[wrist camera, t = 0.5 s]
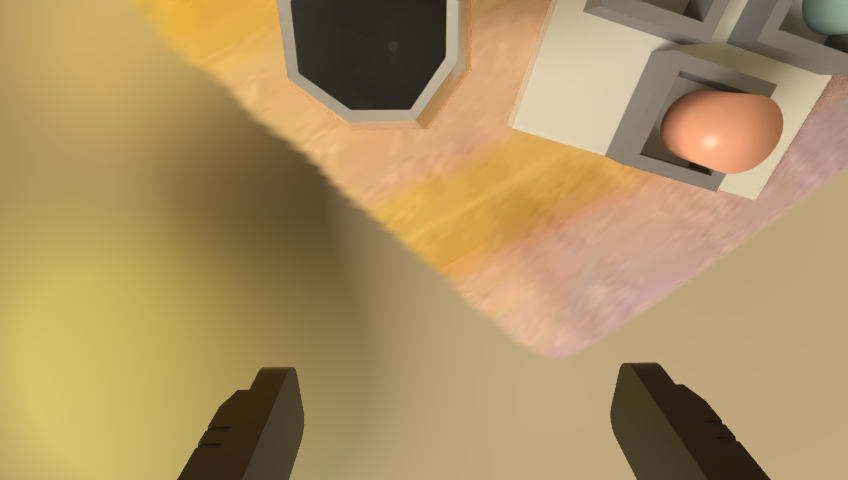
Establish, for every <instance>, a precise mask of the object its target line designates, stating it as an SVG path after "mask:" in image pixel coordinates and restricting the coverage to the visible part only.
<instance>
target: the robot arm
mask: <svg viewBox="0 0 848 480" xmlns="http://www.w3.org/2000/svg"><path fill="white" fill-rule="evenodd" d="M611 424H612V429H613V432H614V435H615V437H616V439H617V441H618V443H619V445H620V447H621V449H622V451H623V453H624V455H625V457H626V459H627V461H628V463H629V464H630V467H631V469H632V470H633V472H634V474H635V476H636V478H637V480H770V478H769V477H768V476H767V475H766V474H765V472H764V471H763V470H762V469H761V467H760V466H759V465H758V464H757V463H756V461H755V460H754V459H753V458H752V457H751V455H750V454H749V453H748V452H747V450H746V449H745V448H744V447H743V446H742V444H741V443H740V442H737V441H736V439H735V436H734V435H733V433H732V432H731V431H730V430H729V429H728V427H727V426H726V425H723V424H722V420H721V419H720V418H719V416H718V415H717V414H716V413H715V412H714V410H713V409H712V408H711V407H710V406H709V405H708V403H707V402H706V401H705V400H704V399H702V398H701V397H700V396H698V395H697V394H695V393H694V392H693V391H691V390H690V389H689V388H687V387H686V386H685V385H683V384H679V385H676V384H675V383H674V382H673V381H672V379H671V378H670V377H669V375H668V374H667V373H666V372H665V370H664V369H663V368H662V367H661V365H659V364H658V363H623V364H622V365H621V367H620V370H619V375H618V379H617V383H616V388H615V393H614V397H613V401H612V406H611ZM303 429H304V411H303V406H302V400H301V395H300V389H299V384H298V378H297V373H296V370H295V368H294V367H264V368H262V369H261V370H260V371H259V372H258V374H257V376H256V378H255V380H254V382H253V384H252V386H251V388H250V389H249V390H237V391H236V392H235V393H234V394H233V395H232V396H231V397H230V398H229V399H228V400H226V401H225V402H224V403H223V404H222V405H221V406H220V407H219V409H218V410H217V412H216V414H215V416H214V417H213V419H212V421H211V422H210V424H209V426H208V430H207V431H205V433H204V435H203V436H202V438H201V440H200V441H199V443H198V448H196V449H195V450H194V452H193V453H192V455H191V457H190V459H189V460H188V462H187V464H186V466H185V467H184V469H183V471H182V472H181V474H180V476H179V478H178V479H177V480H289V478H290V475H291V471H292V468H293V465H294V462H295V459H296V456H297V452H298V449H299V446H300V443H301V440H302V435H303Z"/></svg>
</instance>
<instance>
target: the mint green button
mask: <svg viewBox="0 0 848 480" xmlns="http://www.w3.org/2000/svg"><path fill="white" fill-rule="evenodd" d="M802 16H803V20H804V22H805V24H806V25H807V27H808V28H809V29H810V30H811V31H813V32H815V33H817V34H820V35H838V34H848V0H802Z"/></svg>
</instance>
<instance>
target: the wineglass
mask: <svg viewBox="0 0 848 480" xmlns="http://www.w3.org/2000/svg"><path fill="white" fill-rule="evenodd" d="M277 4H278V11H279V18H280V25H281V32H282V40H283V47H284V54H285V61H286V68H287V75H288V80H289V84H290V86H291V87H292V88H294V89H295V90H296V91H298V92H299V93H301V94H302V95H303V96H305V97H306V98H308V99H309V100H310V101H312V102H313V103H315V104H316V105H317V106H319V107H320V108H322V109H323V110H324V111H326V112H327V113H329V114H330V115H331V116H333V117H334V118H336V119H337V120H338V121H340V122H341V123H343V124H344V125H345V126H347V127H348V128H350V129H351V130H352V131H373V130H426V129H429V128H430V127H431V125H432V124H433V122H434V121H435V120H436V118H437V117H438V115H439V114H440V113H441V111H442V110H443V109H444V107H445V106H446V104H447V103H448V102H449V100H450V99H451V97H452V96H453V95H454V93H455V92H456V91H457V89H458V88H459V86H460V85H461V84H462V82H463V81H464V79H465V78H466V77H467V75H468V74H469V72H470V71H471V50H472V11H473V0H277Z"/></svg>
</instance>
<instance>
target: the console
mask: <svg viewBox="0 0 848 480" xmlns="http://www.w3.org/2000/svg"><path fill="white" fill-rule="evenodd" d="M832 75H843V76H848V34H838V35H820V34H817V33H815V32H813V31H811V30H810V29H809V28H808V27H807V25H806V24H805V22H804V20H803V16H802V0H675V1H671V0H551V2H550V4H549V7H548V10H547V13H546V16H545V19H544V22H543V24H542V27H541V30H540V33H539V36H538V39H537V42H536V44H535V47H534V50H533V53H532V56H531V59H530V62H529V64H528V67H527V70H526V73H525V76H524V79H523V82H522V84H521V87H520V90H519V93H518V96H517V99H516V102H515V104H514V107H513V110H512V113H511V116H510V119H509V122H508V124H507V125H508V126H509V127H511V128H513V129H516V130H519V131H523V132H526V133H529V134H533V135H536V136H540V137H543V138H546V139H550V140H553V141H556V142H560V143H563V144H567V145H570V146H573V147H577V148H580V149H584V150H587V151H590V152H594V153H597V154H600V155H604V156H606V157H608V158H610V159H612V160H614V161H616V162H618V163H620V164H623V165H627V166H630V167H633V168H637V169H640V170H644V171H647V172H650V173H654V174H657V175H661V176H664V177H667V178H671V179H674V180H678V181H681V182H684V183H688V184H691V185H694V186H698V187H701V188H705V189H708V190H711V191H715V192H716V191H717V189H719V190H722V191H725V192H729V193H732V194H736V195H739V196H742V197H746V198H749V199H752V200H756V198H757V197H758V195H759V193H760V192H761V190H762V189H763V187H764V185H765V184H766V182H767V180H768V179H769V177H770V176H771V174H772V172H773V171H774V169H775V168H776V166H777V164H778V163H779V161H780V159H781V158H782V156H783V155H784V153H785V151H786V150H787V148H788V146H789V145H790V143H791V142H792V140H793V138H794V137H795V135H796V133H797V132H798V130H799V129H800V127H801V125H802V124H803V122H804V121H805V119H806V117H807V116H808V114H809V112H810V111H811V109H812V108H813V106H814V104H815V103H816V101H817V99H818V98H819V96H820V95H821V93H822V91H823V90H824V88H825V87H826V85H827V83H828V82H829V80H830V78H831V77H832ZM696 90H709V91H721V92H732V93H744V94H755V95H763V96H766V97H768V98H770V99H772V100H773V101H774V102H776V103H777V105H778V106H779V108H780V110H781V112H782V115H783V131H782V135H781V138H780V140H779V142H778V144H777V146H776V148H775V149H774V150H773V152H772V153H771V154H770V155H769V156H768V157H767V158H766V159H765V160H764V161H763V162H762V163H761V164H759V165H758V166H756V167H754V168H752V169H750V170H748V171H745V172H742V173H737V174H726V173H721V172H719V171H716V170H713V169H710V168H707V167H705V166H702V165H699V164H696V163H693V162H691V161H688V160H685V159H682V158H679V157H677V156H674V155H672V154H670V153H669V152H668V151H667V150H666V149H665V148H664V146H663V144H662V142H661V139H660V126H661V122H662V119H663V116H664V114H665V113H666V111H667V110H668V108H669V107H670V106H671V105H672V103H673V102H675V101H676V100H677V99H678V98H680V97H681V96H683V95H684V94H687V93H689V92H692V91H696Z"/></svg>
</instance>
